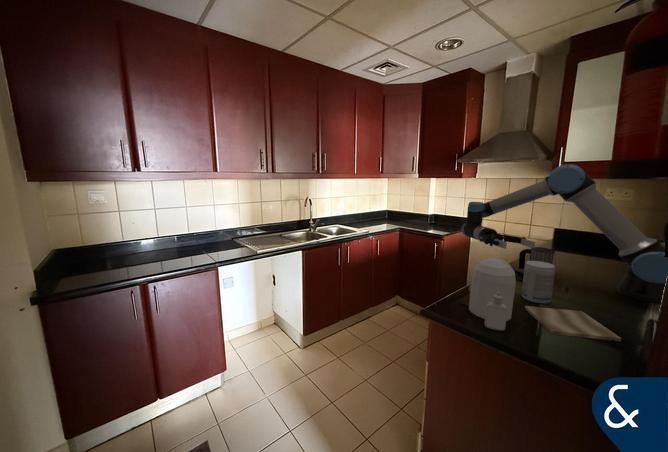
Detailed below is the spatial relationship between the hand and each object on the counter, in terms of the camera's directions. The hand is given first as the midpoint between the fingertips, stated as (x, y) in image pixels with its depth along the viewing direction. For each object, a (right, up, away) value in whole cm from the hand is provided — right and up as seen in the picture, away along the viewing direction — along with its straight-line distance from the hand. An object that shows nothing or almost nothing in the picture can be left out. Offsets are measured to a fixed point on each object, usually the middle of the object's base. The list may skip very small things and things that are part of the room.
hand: (520, 245), depth 113 cm
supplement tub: (+1, -21, -6) cm, 22 cm away
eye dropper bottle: (-28, -25, -28) cm, 46 cm away
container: (-23, -23, -17) cm, 37 cm away
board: (-1, -24, -25) cm, 34 cm away
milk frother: (+16, -18, +16) cm, 29 cm away
